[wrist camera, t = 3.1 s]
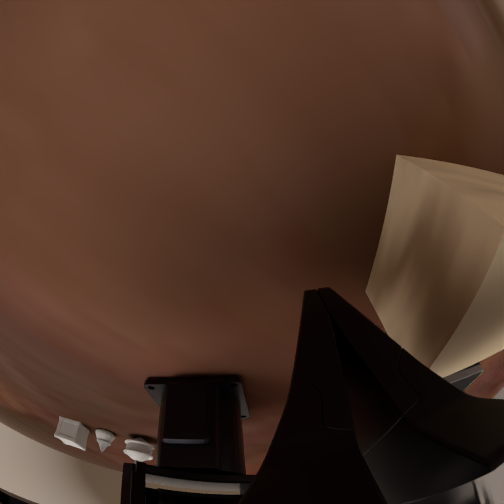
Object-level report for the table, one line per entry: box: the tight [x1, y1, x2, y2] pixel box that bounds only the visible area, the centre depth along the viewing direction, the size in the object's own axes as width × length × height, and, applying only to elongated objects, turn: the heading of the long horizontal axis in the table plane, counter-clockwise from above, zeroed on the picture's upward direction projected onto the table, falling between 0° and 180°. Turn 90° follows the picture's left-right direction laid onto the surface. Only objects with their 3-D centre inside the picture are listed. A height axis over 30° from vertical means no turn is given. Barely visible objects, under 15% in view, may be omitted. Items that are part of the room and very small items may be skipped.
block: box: [365, 155, 504, 378], centre depth 9 cm, size 7×9×6 cm
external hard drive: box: [443, 362, 483, 391], centre depth 23 cm, size 7×11×2 cm, turn 82°
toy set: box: [54, 416, 154, 464], centre depth 22 cm, size 12×3×4 cm, turn 85°
